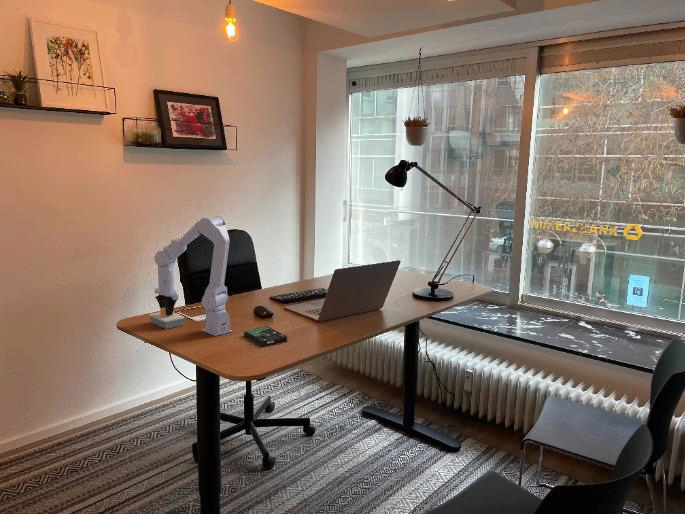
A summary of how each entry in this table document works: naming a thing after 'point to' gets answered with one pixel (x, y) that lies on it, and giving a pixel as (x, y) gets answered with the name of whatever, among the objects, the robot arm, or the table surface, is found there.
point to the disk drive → (265, 336)
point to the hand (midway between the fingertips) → (166, 314)
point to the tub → (167, 323)
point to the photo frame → (197, 318)
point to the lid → (164, 317)
